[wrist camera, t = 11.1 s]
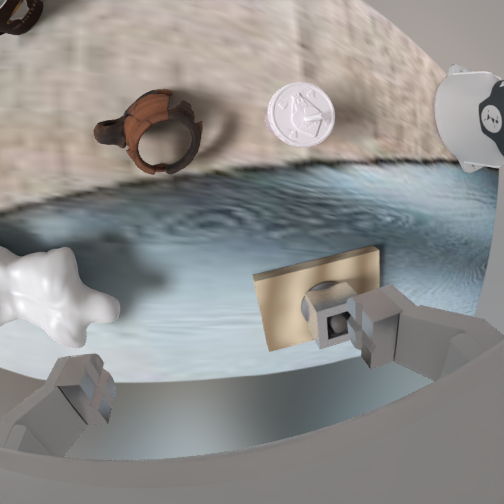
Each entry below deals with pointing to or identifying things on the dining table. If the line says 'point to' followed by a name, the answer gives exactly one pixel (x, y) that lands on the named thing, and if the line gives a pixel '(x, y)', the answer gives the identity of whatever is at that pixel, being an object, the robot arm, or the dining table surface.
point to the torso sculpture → (52, 295)
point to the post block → (304, 280)
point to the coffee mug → (19, 15)
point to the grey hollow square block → (328, 312)
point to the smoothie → (300, 114)
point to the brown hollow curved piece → (140, 119)
